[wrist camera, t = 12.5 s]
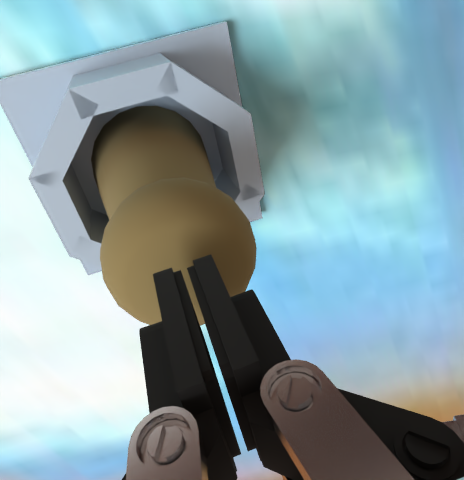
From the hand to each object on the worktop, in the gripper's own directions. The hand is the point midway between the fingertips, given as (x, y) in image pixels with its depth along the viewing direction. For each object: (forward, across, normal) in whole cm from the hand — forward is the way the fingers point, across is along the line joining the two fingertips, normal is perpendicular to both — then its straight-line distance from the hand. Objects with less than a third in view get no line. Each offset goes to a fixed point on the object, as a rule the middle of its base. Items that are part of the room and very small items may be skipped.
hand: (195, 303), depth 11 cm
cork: (+12, 0, 0) cm, 12 cm away
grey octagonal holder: (+13, 0, 0) cm, 13 cm away
